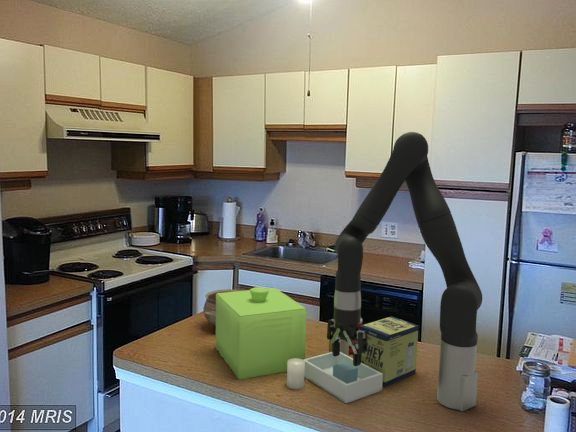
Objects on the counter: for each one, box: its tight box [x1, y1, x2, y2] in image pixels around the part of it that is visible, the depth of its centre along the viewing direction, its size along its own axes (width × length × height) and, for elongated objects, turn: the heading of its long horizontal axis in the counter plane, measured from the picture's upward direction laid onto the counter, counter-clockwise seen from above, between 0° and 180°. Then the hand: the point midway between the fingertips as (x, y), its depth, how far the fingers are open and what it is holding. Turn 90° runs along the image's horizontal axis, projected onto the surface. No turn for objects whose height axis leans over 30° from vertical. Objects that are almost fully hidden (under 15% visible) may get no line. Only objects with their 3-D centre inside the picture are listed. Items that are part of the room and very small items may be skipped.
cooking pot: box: [202, 288, 243, 327], centre depth 186 cm, size 25×19×12 cm
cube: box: [333, 362, 358, 384], centre depth 141 cm, size 5×5×5 cm
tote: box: [304, 351, 383, 404], centre depth 143 cm, size 20×14×5 cm
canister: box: [215, 286, 307, 381], centre depth 158 cm, size 25×21×23 cm
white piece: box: [286, 358, 305, 390], centre depth 140 cm, size 5×5×7 cm
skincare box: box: [328, 332, 350, 357], centre depth 158 cm, size 6×4×12 cm
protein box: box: [360, 315, 419, 388], centre depth 149 cm, size 10×16×16 cm
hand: (346, 360), depth 140 cm, fingers open, 8 cm apart
